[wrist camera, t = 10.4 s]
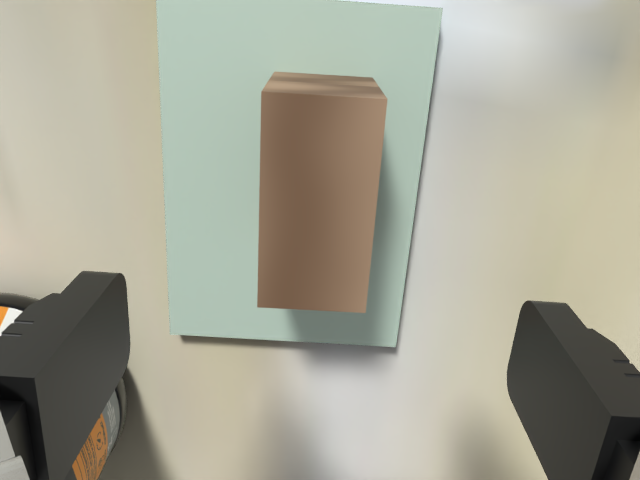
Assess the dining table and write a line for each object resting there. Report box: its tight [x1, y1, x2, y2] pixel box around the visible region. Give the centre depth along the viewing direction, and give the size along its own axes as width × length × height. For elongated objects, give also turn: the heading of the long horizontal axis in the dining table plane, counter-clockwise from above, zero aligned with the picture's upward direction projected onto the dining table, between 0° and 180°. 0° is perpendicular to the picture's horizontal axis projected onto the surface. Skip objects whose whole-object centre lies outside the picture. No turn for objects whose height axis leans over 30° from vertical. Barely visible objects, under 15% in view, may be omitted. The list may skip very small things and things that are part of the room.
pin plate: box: [156, 0, 443, 347], centre depth 22 cm, size 10×14×3 cm
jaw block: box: [257, 72, 388, 313], centre depth 20 cm, size 4×7×5 cm, turn 177°
